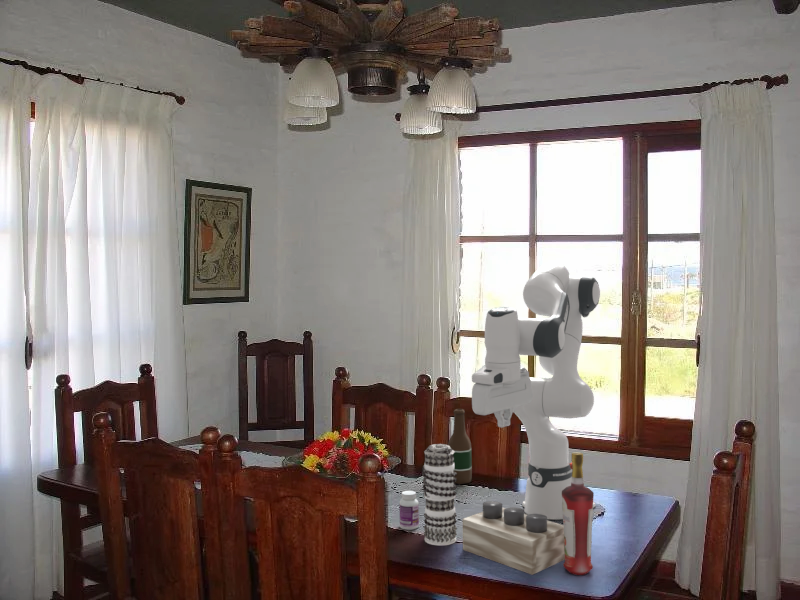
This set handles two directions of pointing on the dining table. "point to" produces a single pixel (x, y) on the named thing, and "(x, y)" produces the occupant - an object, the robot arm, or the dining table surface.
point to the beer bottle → (461, 449)
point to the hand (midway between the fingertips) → (503, 426)
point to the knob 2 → (514, 516)
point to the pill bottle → (409, 511)
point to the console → (514, 543)
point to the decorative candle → (439, 495)
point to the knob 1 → (492, 510)
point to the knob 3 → (536, 523)
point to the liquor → (577, 520)
